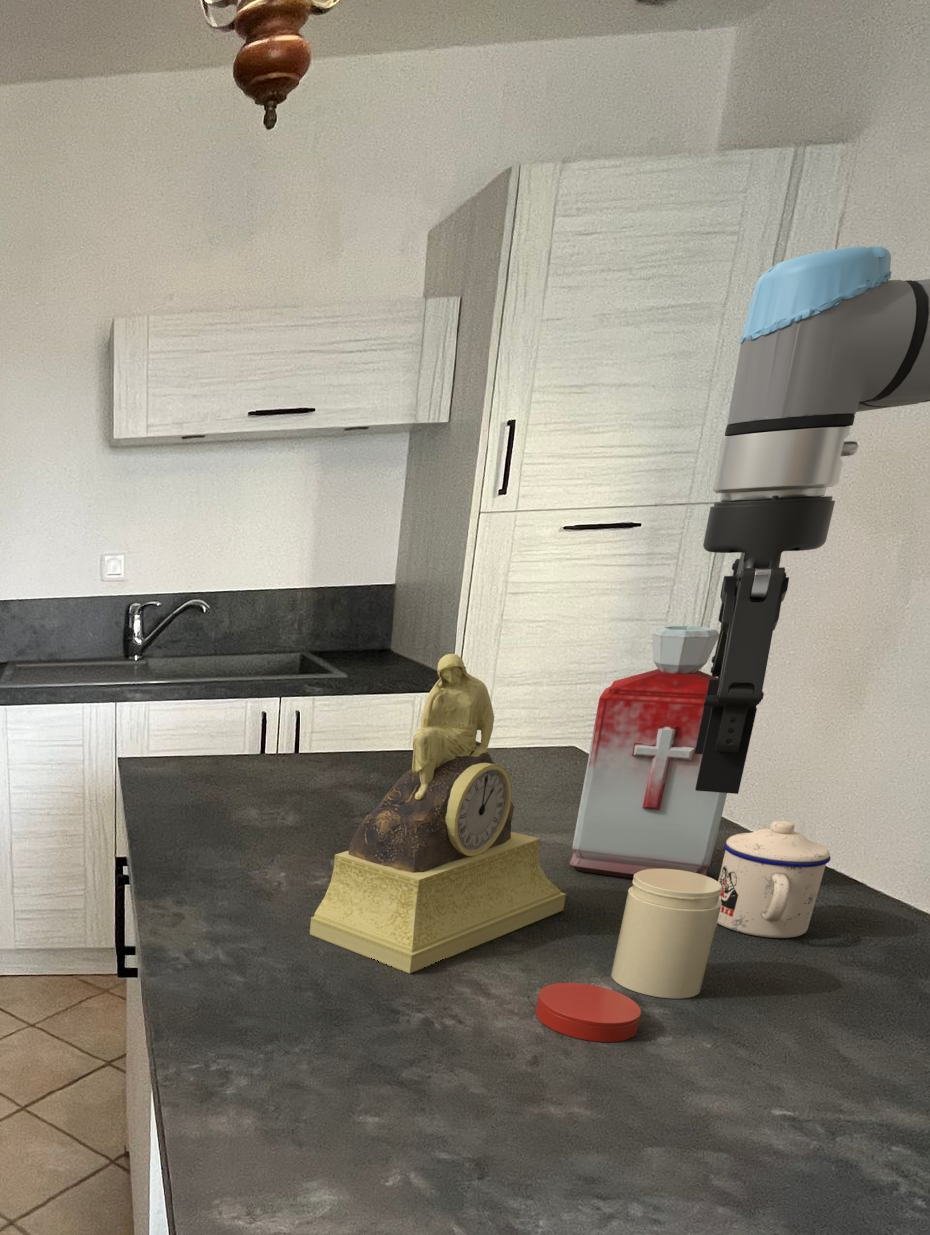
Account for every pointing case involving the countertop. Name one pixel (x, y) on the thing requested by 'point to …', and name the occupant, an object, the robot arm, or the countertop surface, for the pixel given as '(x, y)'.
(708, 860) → the bottle
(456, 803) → the decorative clock
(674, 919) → the jar
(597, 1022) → the lid
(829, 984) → the countertop surface
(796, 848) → the teacup with lid
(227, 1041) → the countertop surface
